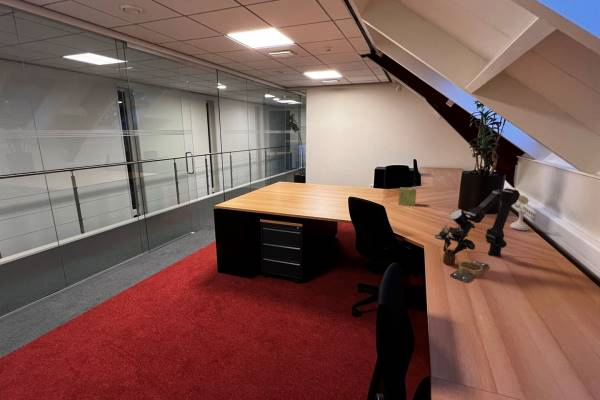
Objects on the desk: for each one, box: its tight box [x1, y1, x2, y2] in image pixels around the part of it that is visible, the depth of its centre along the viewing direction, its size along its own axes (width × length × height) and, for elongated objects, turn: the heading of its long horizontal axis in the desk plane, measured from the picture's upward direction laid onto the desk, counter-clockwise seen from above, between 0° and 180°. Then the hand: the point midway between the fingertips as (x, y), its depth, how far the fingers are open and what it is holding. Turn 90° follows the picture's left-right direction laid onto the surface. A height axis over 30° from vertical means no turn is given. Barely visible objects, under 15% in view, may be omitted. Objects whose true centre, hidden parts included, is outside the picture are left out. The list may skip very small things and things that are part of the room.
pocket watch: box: [434, 223, 450, 240], centre depth 201 cm, size 8×8×10 cm
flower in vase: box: [509, 194, 530, 231], centre depth 216 cm, size 13×11×25 cm
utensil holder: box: [442, 243, 456, 266], centre depth 163 cm, size 6×6×12 cm
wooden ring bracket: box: [449, 259, 490, 283], centre depth 154 cm, size 27×11×3 cm, turn 129°
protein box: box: [397, 187, 417, 207], centre depth 290 cm, size 10×15×16 cm
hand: (448, 252), depth 162 cm, fingers closed on utensil holder, 5 cm apart
